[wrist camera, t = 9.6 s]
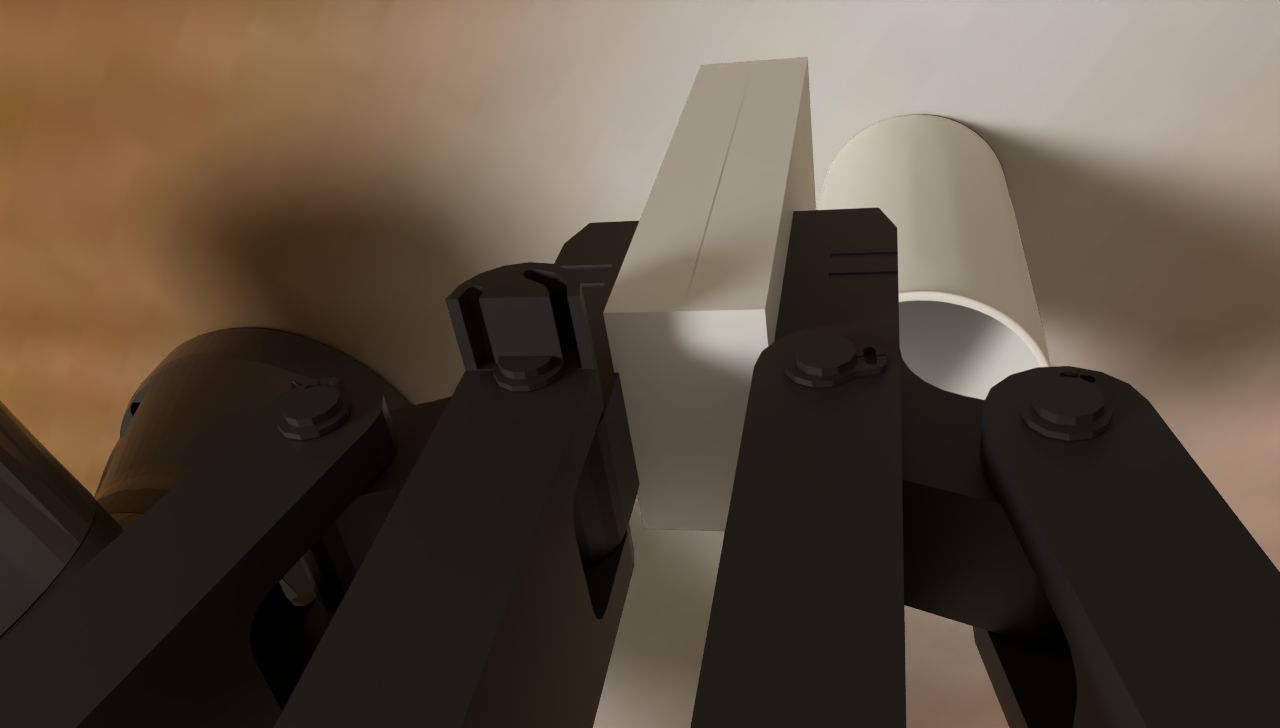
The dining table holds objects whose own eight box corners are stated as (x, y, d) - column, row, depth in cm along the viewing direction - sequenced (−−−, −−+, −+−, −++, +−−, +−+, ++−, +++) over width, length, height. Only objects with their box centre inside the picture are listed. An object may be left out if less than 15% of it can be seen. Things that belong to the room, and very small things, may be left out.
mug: (826, 95, 36) (800, 278, 26) (1033, 112, 35) (1085, 308, 25) (797, 342, 42) (768, 564, 32) (974, 362, 41) (998, 597, 31)
